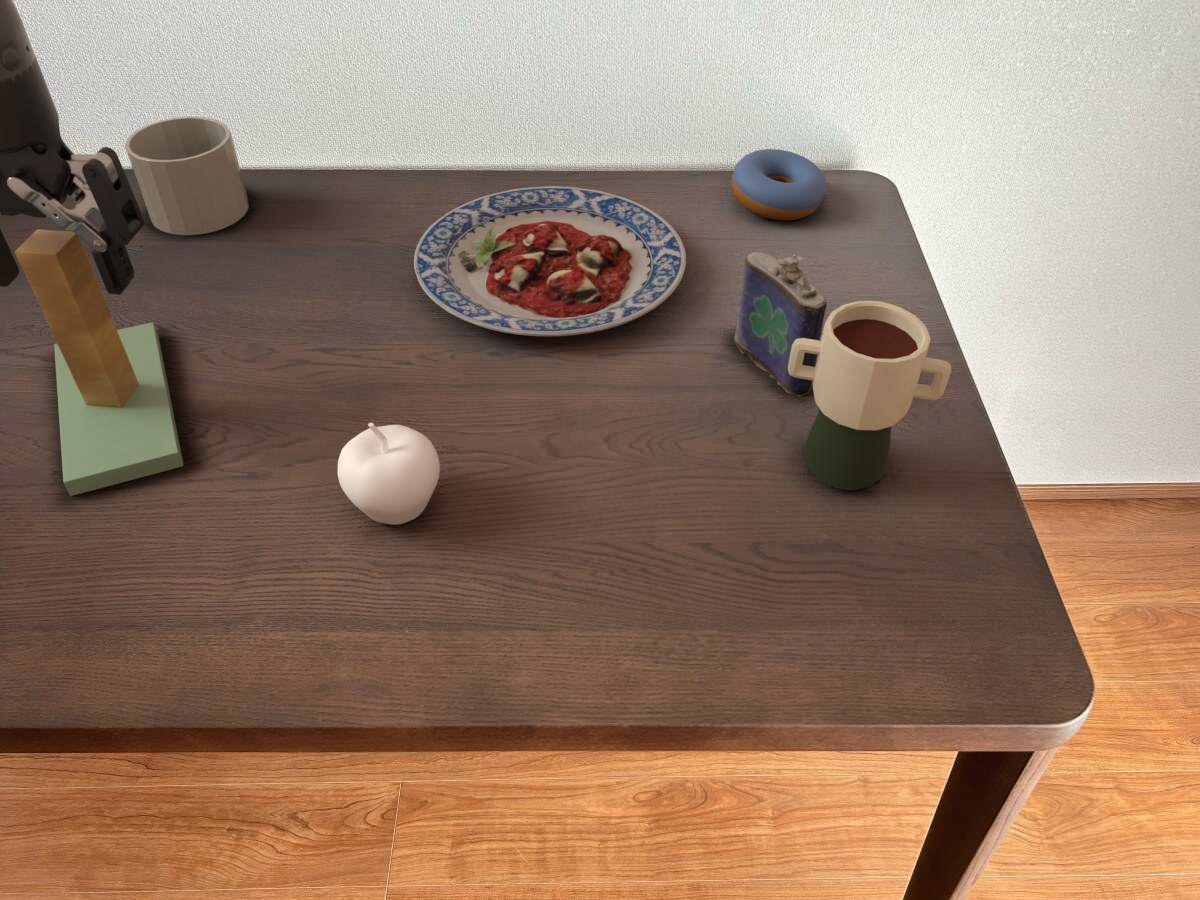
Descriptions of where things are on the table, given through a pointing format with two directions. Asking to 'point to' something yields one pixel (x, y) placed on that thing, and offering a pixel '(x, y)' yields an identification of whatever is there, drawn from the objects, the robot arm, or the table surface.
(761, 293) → the flask
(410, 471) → the apple
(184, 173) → the tin
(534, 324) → the ceramic plate
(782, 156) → the doughnut
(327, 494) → the table surface
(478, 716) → the table surface
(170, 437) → the green rectangular block
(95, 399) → the stick
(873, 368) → the character mug
